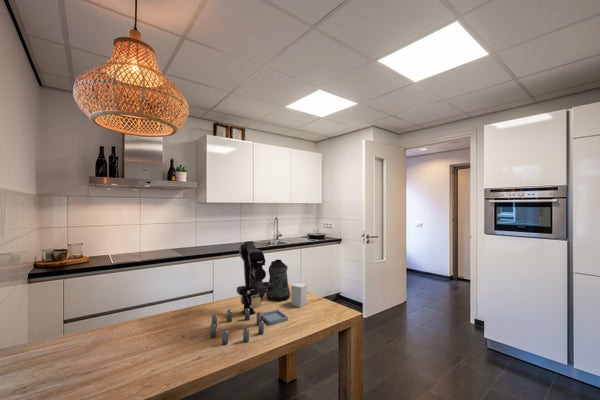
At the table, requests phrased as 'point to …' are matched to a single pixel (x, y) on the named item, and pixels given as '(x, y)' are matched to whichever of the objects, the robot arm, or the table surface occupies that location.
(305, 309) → the table surface
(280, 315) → the tray
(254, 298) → the brass nut
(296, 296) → the supplement box
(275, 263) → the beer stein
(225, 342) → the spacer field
